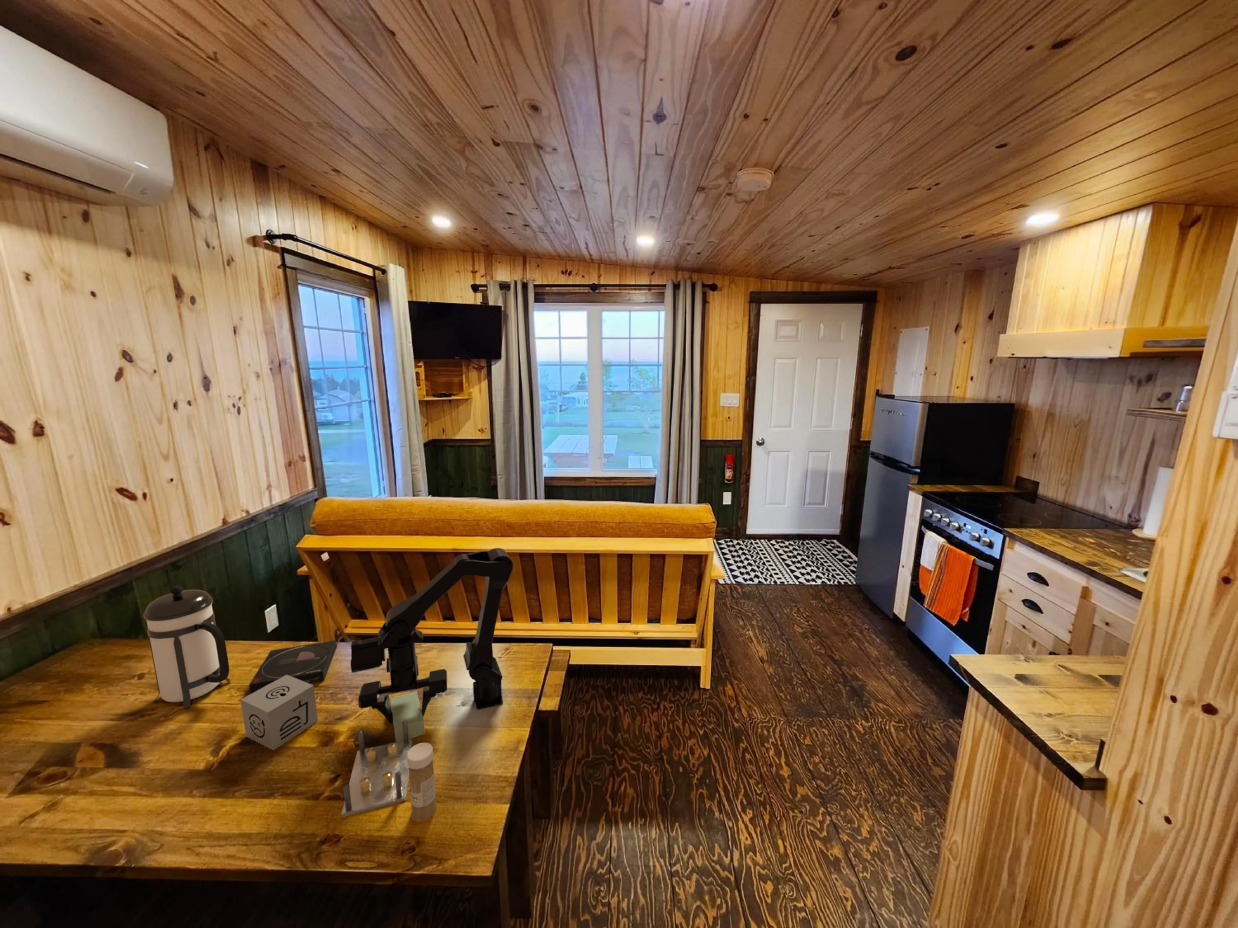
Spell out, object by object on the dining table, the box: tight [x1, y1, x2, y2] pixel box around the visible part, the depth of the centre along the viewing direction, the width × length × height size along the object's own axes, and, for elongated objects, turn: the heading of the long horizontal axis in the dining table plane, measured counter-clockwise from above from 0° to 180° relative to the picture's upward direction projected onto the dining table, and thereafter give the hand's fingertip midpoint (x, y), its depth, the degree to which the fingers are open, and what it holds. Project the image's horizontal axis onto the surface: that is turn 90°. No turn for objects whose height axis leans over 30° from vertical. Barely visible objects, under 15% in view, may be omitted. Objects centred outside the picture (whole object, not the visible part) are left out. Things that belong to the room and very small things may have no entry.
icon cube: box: [240, 675, 318, 751], centre depth 109 cm, size 10×10×10 cm
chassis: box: [341, 721, 413, 818], centre depth 97 cm, size 16×11×6 cm
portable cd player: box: [248, 639, 338, 695], centre depth 132 cm, size 16×17×4 cm
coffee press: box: [142, 585, 231, 711], centre depth 120 cm, size 17×16×30 cm
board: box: [389, 690, 426, 743], centre depth 112 cm, size 12×6×4 cm, turn 30°
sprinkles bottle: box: [407, 742, 438, 823], centre depth 88 cm, size 5×5×14 cm
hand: (407, 719), depth 112 cm, fingers closed on board, 6 cm apart
